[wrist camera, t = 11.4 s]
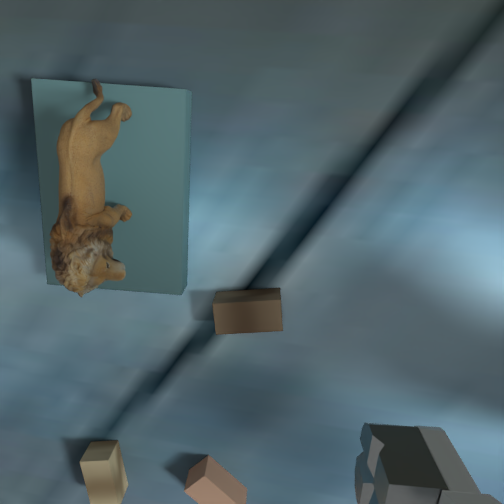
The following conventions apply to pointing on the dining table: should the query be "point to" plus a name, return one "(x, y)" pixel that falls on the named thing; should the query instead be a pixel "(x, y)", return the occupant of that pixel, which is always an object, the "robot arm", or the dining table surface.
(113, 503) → the oak brick
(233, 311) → the walnut brick
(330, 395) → the dining table surface
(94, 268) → the lion figurine
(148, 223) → the teal slab
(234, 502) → the terracotta brick
